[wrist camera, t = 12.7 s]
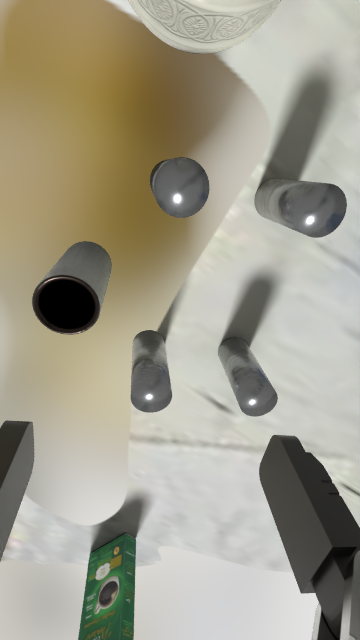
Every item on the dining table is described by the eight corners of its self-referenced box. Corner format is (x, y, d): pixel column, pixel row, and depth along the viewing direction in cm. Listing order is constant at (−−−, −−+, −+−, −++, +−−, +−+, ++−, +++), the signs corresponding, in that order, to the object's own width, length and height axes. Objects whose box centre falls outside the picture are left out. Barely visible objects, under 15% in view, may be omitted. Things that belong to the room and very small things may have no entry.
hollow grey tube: (66, 235, 29) (33, 268, 20) (115, 246, 30) (105, 282, 21) (61, 280, 31) (29, 329, 22) (107, 290, 32) (95, 340, 23)
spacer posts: (152, 156, 27) (157, 152, 19) (296, 181, 30) (354, 188, 21) (131, 356, 36) (129, 411, 28) (243, 364, 38) (271, 417, 30)
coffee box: (99, 559, 53) (88, 671, 41) (87, 553, 52) (72, 666, 40) (137, 538, 51) (136, 648, 40) (125, 531, 50) (121, 642, 38)
